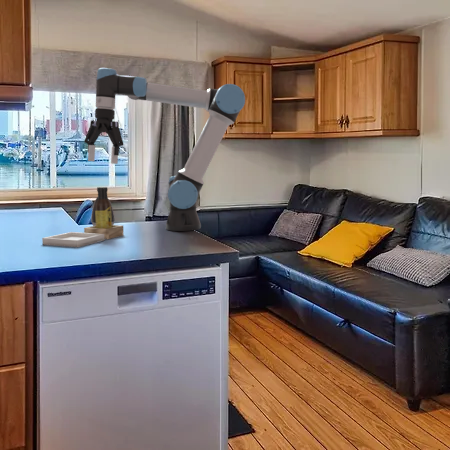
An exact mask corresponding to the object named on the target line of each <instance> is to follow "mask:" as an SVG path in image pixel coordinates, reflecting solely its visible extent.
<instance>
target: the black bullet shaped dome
mask: <svg viewBox="0 0 450 450" xmlns="http://www.w3.org/2000/svg"><path fill="white" fill-rule="evenodd" d="M107 199H108V201H109V202H110V204H111V219H112V225H115V222H116V219H115V217H116V216H115V212H114V209H113V205H112V202H111V201H110V198H109V197H108V198H107ZM97 200H98V196H97V197H96V198H95V200H94V202H93V206H92V210H91V216H90V217H91V218H90V222H91V223H92V226H96V217H95V204H96V202H97Z"/></svg>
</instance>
